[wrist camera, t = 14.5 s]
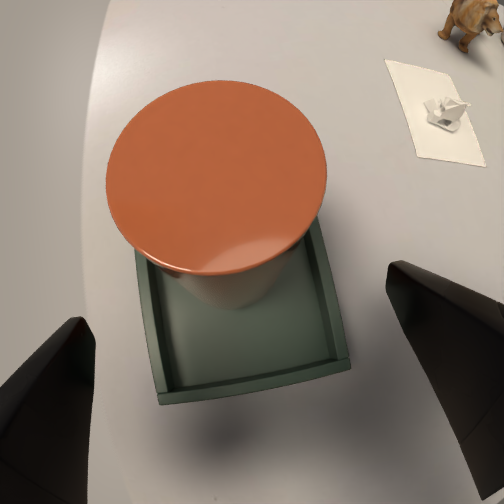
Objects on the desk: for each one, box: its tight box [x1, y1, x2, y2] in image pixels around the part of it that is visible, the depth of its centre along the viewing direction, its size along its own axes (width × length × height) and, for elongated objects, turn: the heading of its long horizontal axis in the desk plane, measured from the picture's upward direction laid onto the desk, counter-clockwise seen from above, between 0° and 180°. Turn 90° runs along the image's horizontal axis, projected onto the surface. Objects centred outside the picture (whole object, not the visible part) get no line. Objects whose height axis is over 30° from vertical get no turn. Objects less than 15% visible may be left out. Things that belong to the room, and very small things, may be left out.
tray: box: [134, 216, 351, 405], centre depth 16 cm, size 13×9×2 cm
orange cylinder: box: [106, 80, 327, 310], centre depth 12 cm, size 5×5×10 cm
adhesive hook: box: [423, 96, 471, 133], centre depth 19 cm, size 3×3×3 cm
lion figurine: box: [438, 0, 503, 53], centre depth 20 cm, size 15×5×9 cm, turn 147°
